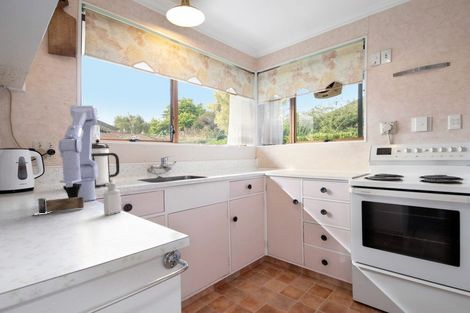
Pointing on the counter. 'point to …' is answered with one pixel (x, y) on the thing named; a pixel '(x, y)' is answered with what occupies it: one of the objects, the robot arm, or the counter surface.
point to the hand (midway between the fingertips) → (73, 202)
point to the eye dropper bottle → (112, 199)
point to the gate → (64, 204)
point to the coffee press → (103, 162)
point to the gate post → (42, 205)
